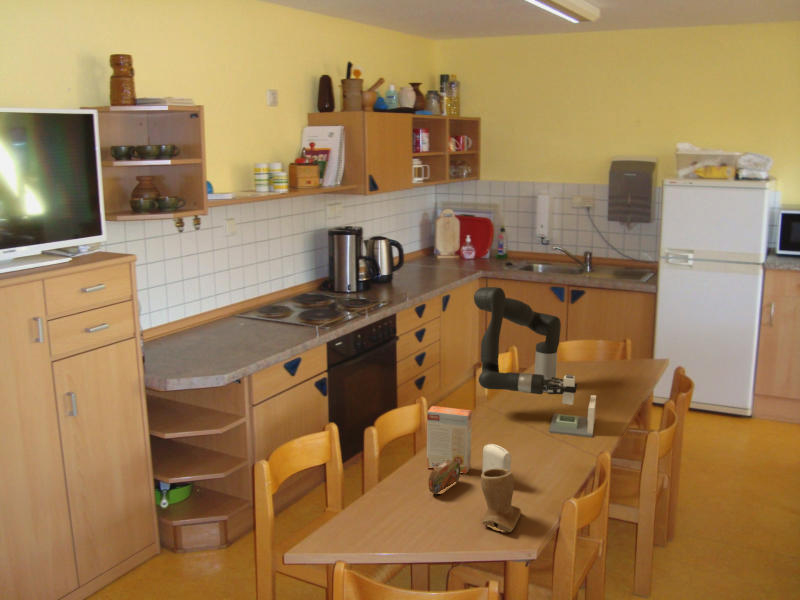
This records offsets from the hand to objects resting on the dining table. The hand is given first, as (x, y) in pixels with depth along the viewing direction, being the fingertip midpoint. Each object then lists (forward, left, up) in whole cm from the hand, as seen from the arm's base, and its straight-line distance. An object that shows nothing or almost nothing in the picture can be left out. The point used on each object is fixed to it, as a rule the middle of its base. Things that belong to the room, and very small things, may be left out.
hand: (576, 388), depth 295 cm
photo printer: (+55, -21, -16) cm, 61 cm away
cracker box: (+50, -38, -16) cm, 65 cm away
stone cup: (+80, -16, -16) cm, 83 cm away
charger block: (0, -3, -6) cm, 7 cm away
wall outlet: (0, -1, -15) cm, 16 cm away
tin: (+65, -36, -16) cm, 76 cm away
